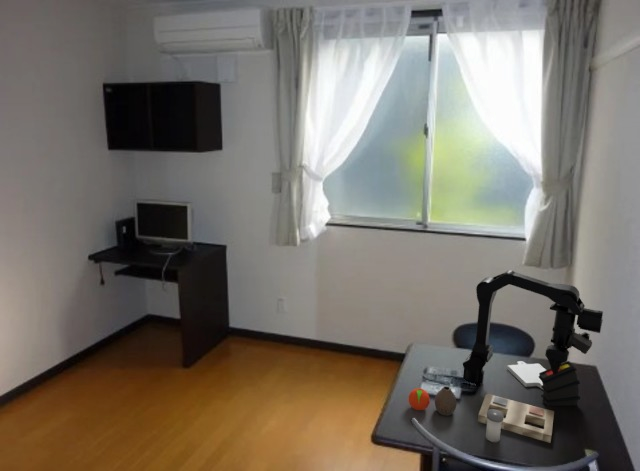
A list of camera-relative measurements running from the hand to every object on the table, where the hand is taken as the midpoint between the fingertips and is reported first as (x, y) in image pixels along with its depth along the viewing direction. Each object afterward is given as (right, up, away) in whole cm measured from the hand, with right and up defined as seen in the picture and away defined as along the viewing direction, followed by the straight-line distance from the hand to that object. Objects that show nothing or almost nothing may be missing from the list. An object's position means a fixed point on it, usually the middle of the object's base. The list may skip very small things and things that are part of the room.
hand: (557, 368), depth 157 cm
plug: (-26, -17, -13) cm, 34 cm away
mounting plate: (+2, -10, +22) cm, 24 cm away
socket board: (-16, -15, -4) cm, 22 cm away
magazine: (+2, -14, +5) cm, 15 cm away
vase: (-37, -14, -1) cm, 40 cm away
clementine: (-46, -14, 0) cm, 48 cm away
